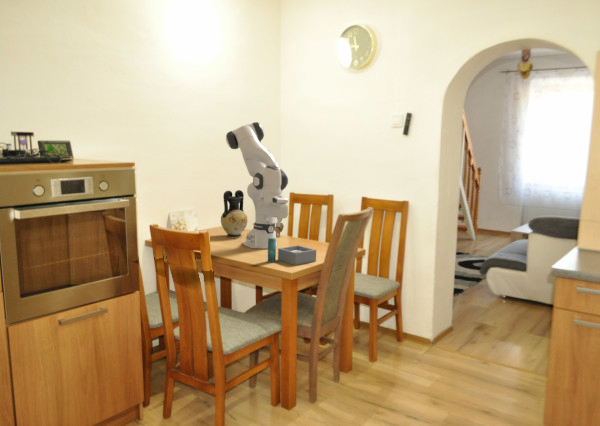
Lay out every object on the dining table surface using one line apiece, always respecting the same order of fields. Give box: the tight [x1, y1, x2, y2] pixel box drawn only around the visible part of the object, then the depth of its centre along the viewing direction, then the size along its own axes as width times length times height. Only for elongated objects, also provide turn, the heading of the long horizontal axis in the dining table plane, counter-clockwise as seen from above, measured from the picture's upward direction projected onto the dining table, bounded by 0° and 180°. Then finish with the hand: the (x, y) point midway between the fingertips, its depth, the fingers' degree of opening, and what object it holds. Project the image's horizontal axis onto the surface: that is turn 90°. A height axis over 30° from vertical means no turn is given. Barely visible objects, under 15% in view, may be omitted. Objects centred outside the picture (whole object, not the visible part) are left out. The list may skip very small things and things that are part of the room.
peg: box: [267, 237, 277, 263], centre depth 238 cm, size 4×4×12 cm
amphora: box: [220, 189, 249, 239], centre depth 299 cm, size 18×17×30 cm
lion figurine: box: [274, 222, 285, 238], centre depth 303 cm, size 15×5×9 cm, turn 126°
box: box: [277, 244, 317, 266], centre depth 242 cm, size 14×14×6 cm
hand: (272, 225), depth 236 cm, fingers open, 8 cm apart
